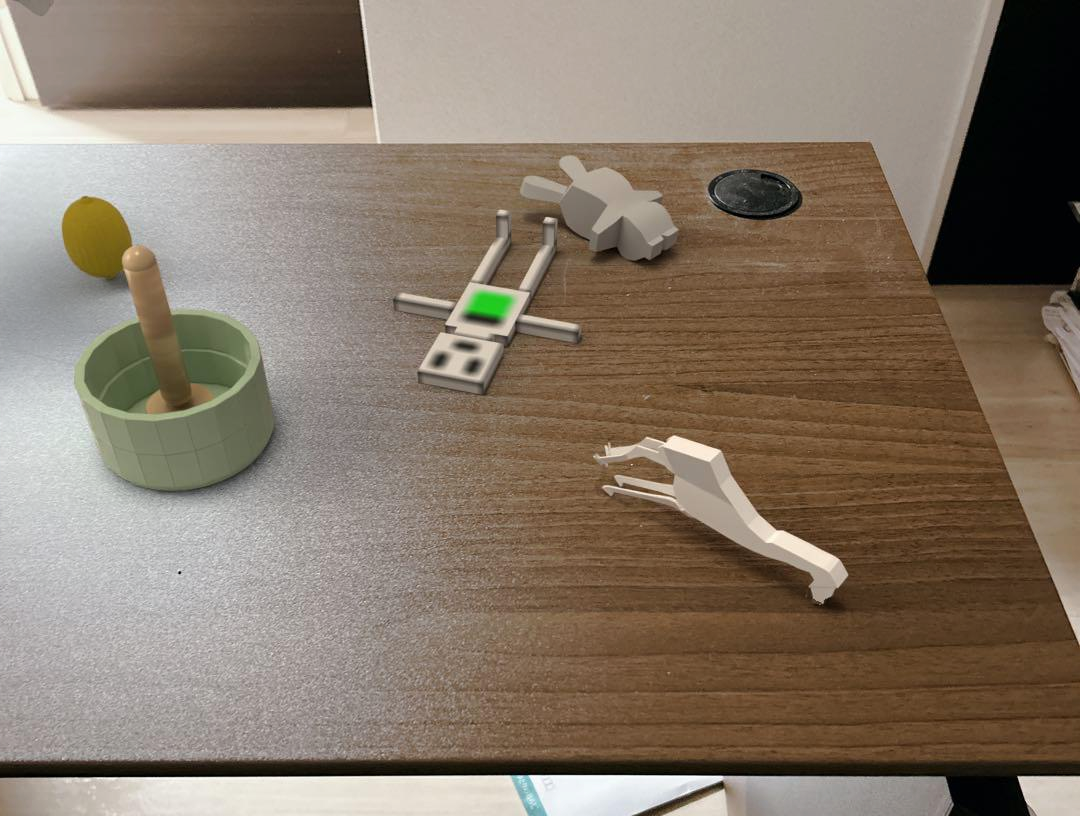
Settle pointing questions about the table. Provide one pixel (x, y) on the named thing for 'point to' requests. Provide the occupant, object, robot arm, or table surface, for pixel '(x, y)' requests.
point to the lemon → (95, 236)
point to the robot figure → (486, 317)
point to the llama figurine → (722, 505)
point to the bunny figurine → (607, 210)
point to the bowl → (184, 436)
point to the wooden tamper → (160, 336)
